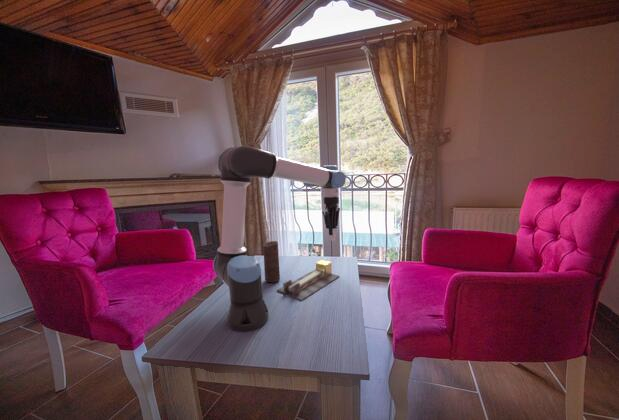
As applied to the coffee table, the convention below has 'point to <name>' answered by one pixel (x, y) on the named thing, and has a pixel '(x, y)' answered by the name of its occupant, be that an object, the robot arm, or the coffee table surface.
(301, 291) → the tongs base
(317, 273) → the bar
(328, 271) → the collar
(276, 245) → the brown wooden block
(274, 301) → the coffee table surface
